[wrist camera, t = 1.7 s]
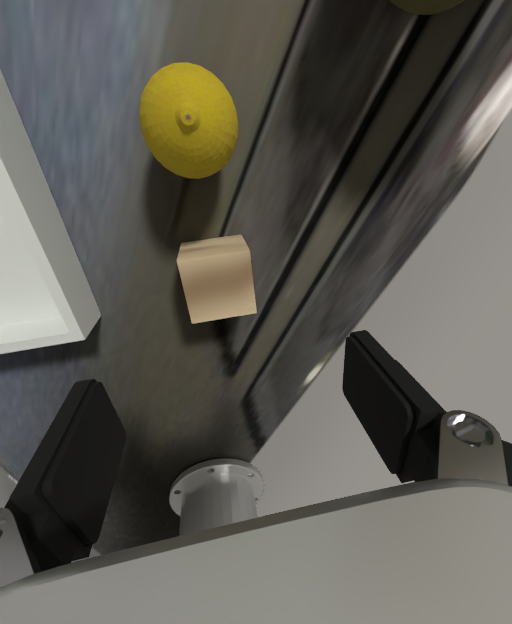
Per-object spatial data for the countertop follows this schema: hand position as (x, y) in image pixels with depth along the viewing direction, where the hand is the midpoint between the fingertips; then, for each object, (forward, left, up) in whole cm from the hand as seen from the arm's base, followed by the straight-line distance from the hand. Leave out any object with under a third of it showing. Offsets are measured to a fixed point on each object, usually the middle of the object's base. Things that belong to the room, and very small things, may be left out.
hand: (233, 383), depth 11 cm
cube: (0, 0, -16) cm, 16 cm away
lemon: (+10, 0, -16) cm, 18 cm away
